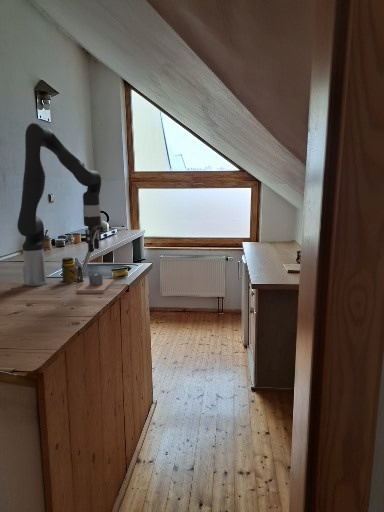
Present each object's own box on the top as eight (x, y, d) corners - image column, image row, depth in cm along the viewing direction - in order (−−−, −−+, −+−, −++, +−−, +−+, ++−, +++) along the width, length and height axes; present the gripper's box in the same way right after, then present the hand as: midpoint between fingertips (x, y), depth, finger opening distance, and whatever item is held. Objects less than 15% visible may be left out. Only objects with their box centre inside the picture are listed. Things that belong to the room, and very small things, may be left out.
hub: (87, 286, 166) (87, 275, 165) (92, 282, 172) (91, 272, 171) (100, 286, 166) (100, 275, 165) (104, 282, 172) (103, 272, 171)
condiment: (78, 282, 180) (76, 258, 178) (60, 284, 175) (58, 260, 173) (74, 279, 186) (72, 256, 184) (57, 281, 181) (55, 258, 179)
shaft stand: (76, 293, 160) (75, 279, 159) (90, 282, 179) (89, 269, 177) (103, 293, 160) (102, 279, 158) (114, 282, 178) (113, 269, 177)
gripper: (88, 214, 170) (90, 247, 173) (78, 216, 156) (80, 253, 159) (104, 214, 170) (106, 247, 173) (95, 216, 156) (97, 253, 159)
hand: (94, 250), depth 166 cm, fingers open, 8 cm apart
